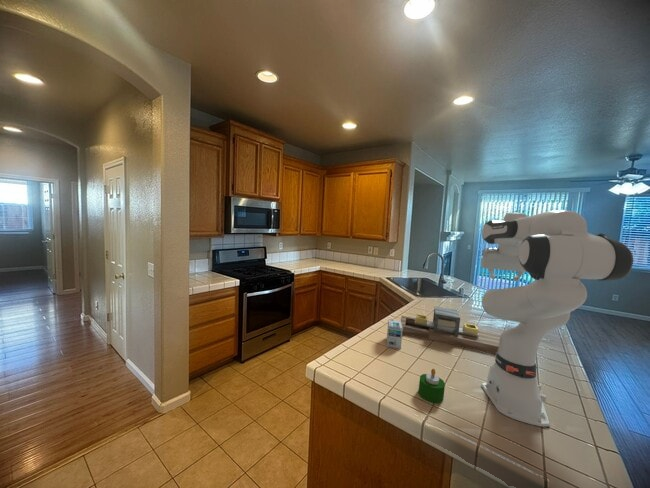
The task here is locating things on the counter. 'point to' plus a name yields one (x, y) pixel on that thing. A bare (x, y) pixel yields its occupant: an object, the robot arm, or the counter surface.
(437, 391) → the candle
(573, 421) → the counter surface
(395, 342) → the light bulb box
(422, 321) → the sled
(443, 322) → the maple block
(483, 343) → the tunnel deck
